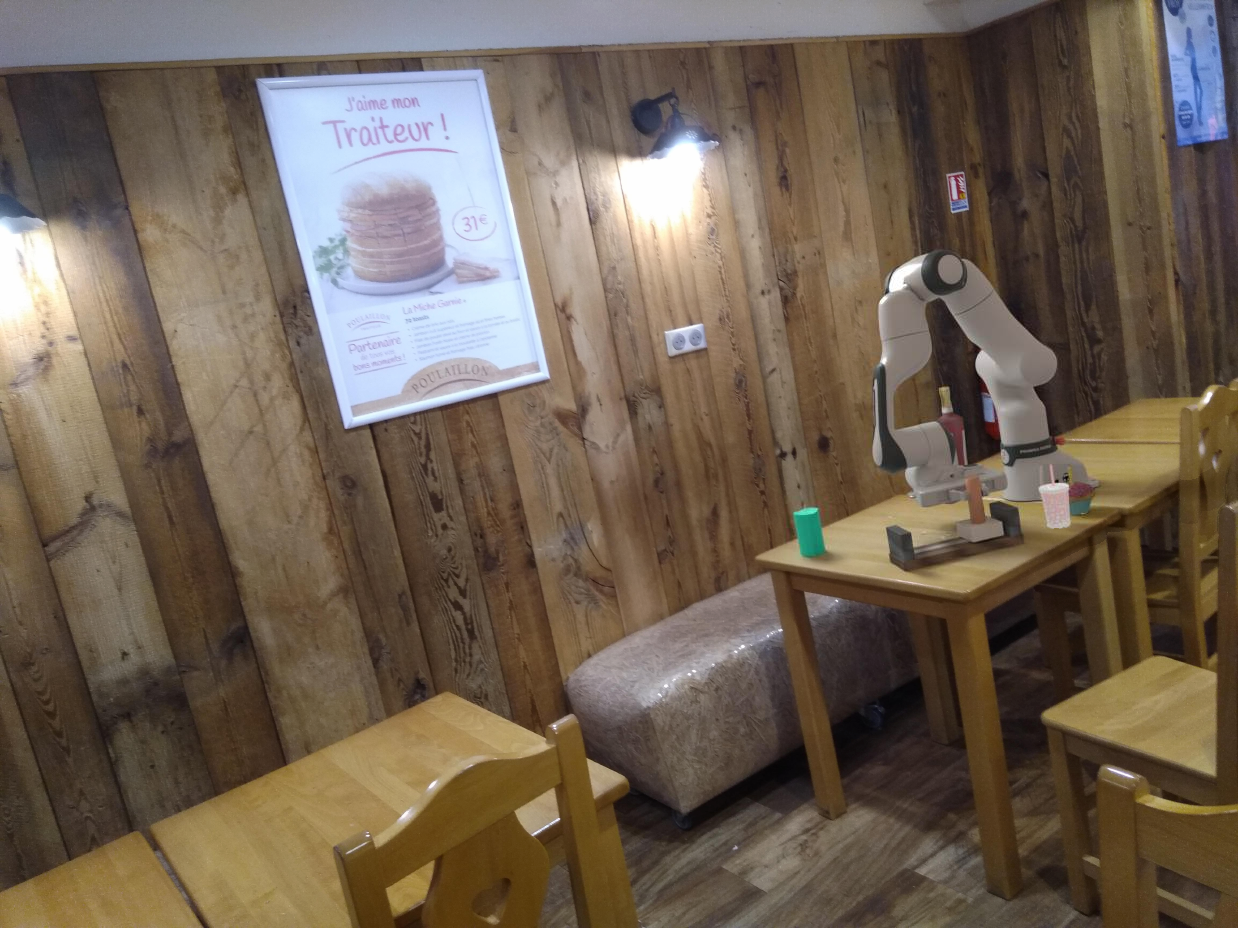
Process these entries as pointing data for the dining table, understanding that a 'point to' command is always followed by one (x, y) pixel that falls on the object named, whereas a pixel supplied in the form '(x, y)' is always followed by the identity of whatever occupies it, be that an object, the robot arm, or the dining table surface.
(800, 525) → the candle
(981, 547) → the rail
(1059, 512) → the beverage cup
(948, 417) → the liquor
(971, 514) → the peach cylinder post
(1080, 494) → the cupcake
